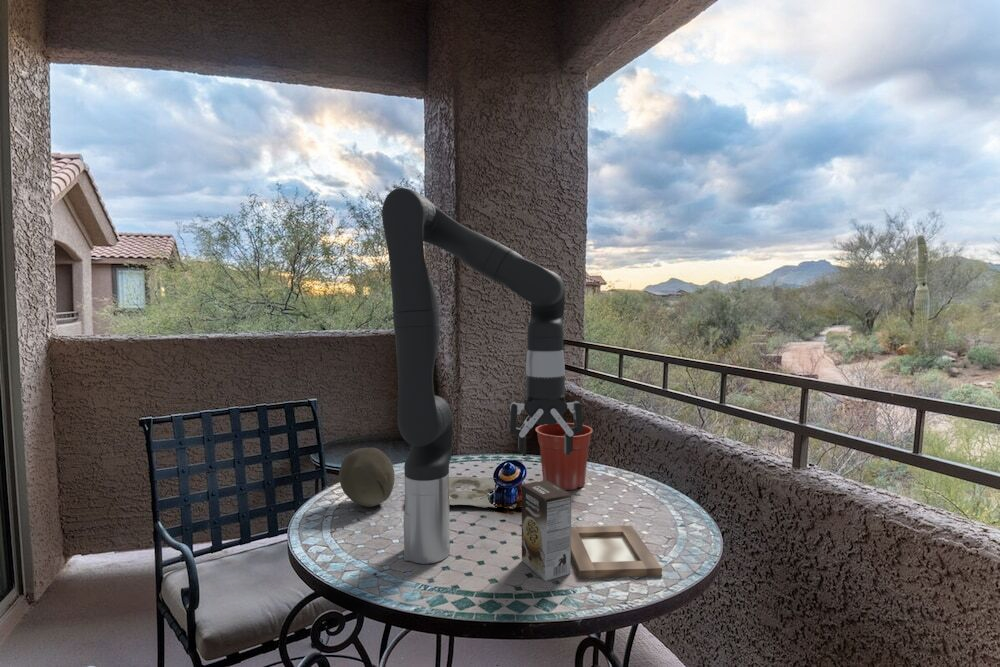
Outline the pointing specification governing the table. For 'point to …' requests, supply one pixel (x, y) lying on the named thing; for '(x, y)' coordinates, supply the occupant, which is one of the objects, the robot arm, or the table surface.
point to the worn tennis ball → (367, 476)
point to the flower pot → (563, 456)
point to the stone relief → (467, 497)
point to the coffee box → (546, 529)
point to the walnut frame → (611, 553)
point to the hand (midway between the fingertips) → (545, 454)
